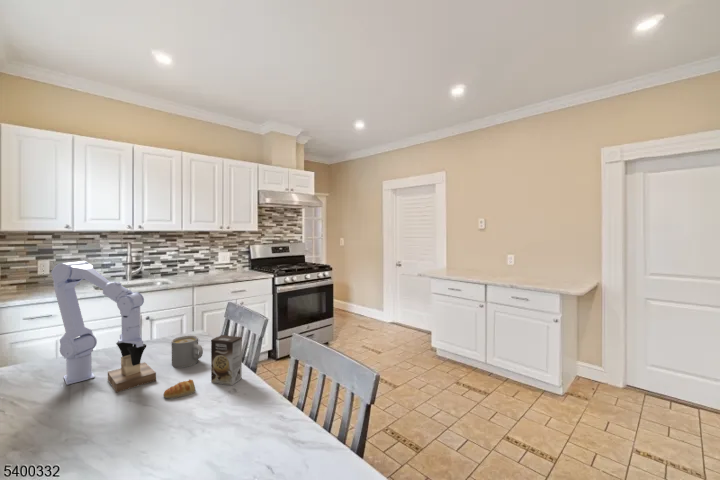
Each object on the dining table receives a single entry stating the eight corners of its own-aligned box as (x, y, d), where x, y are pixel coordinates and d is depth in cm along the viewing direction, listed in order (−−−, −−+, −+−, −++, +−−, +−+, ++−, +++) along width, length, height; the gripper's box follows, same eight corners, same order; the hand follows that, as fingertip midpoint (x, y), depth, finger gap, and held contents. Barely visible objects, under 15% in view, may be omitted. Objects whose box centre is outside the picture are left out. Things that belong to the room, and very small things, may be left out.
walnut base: (107, 379, 121) (107, 371, 121) (145, 369, 130) (145, 362, 129) (116, 392, 111) (116, 383, 111) (156, 380, 120) (155, 372, 120)
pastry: (166, 402, 105) (166, 391, 105) (161, 395, 110) (161, 384, 110) (196, 393, 112) (196, 382, 112) (191, 386, 117) (191, 376, 117)
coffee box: (210, 383, 119) (210, 339, 118) (221, 375, 125) (221, 334, 124) (232, 386, 116) (231, 341, 116) (242, 378, 123) (242, 336, 122)
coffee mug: (166, 364, 134) (166, 340, 134) (188, 356, 143) (188, 334, 143) (187, 371, 128) (187, 346, 128) (208, 362, 137) (208, 338, 137)
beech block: (121, 373, 119) (121, 357, 119) (135, 368, 123) (134, 353, 123) (126, 376, 117) (126, 359, 117) (140, 371, 121) (140, 355, 121)
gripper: (110, 325, 120) (110, 361, 121) (127, 332, 112) (127, 370, 113) (131, 320, 126) (132, 355, 127) (149, 327, 118) (149, 363, 119)
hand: (131, 362), depth 120 cm, fingers open, 7 cm apart
